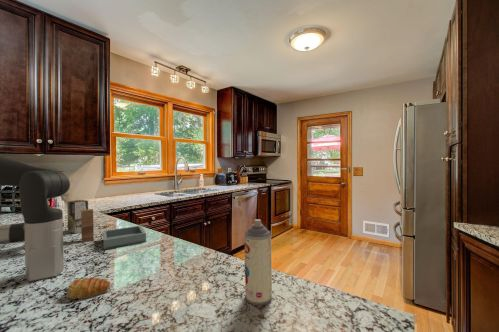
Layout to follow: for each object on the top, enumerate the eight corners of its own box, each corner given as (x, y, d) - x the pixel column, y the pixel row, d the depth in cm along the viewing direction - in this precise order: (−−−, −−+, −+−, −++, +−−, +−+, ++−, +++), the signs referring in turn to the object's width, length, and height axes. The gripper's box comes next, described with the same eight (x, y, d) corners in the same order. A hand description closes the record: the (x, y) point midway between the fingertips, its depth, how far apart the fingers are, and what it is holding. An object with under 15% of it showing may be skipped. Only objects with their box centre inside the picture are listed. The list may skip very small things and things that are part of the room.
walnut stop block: (93, 240, 105) (92, 210, 105) (81, 242, 102) (81, 211, 102) (93, 238, 109) (93, 209, 108) (82, 239, 106) (81, 210, 106)
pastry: (113, 284, 66) (113, 271, 66) (104, 297, 60) (104, 283, 60) (77, 288, 64) (77, 275, 64) (63, 302, 58) (63, 288, 58)
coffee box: (89, 230, 121) (88, 200, 121) (74, 233, 116) (74, 202, 116) (81, 228, 126) (80, 199, 126) (67, 231, 121) (66, 201, 121)
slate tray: (146, 242, 102) (145, 233, 102) (103, 250, 93) (103, 240, 93) (140, 233, 115) (140, 225, 115) (103, 239, 106) (103, 230, 106)
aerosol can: (245, 290, 62) (244, 217, 62) (270, 289, 62) (269, 216, 62) (245, 305, 55) (243, 223, 55) (273, 305, 55) (272, 223, 55)
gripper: (4, 228, 85) (59, 221, 94) (15, 220, 97) (64, 215, 106) (4, 248, 86) (60, 239, 94) (16, 238, 97) (64, 231, 106)
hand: (62, 227), depth 100 cm, fingers open, 8 cm apart
